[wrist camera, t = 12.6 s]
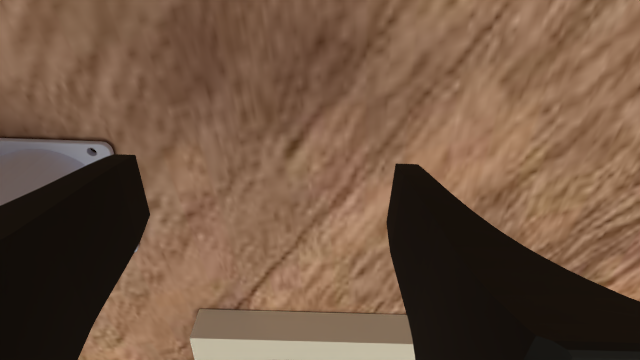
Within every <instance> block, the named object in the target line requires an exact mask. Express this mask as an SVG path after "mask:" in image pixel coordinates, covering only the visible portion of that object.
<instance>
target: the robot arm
mask: <svg viewBox="0 0 640 360" xmlns="http://www.w3.org/2000/svg"><path fill="white" fill-rule="evenodd" d="M90 148H93V149H94V150H96V152H97V153H95V152H93V151H92V150H91V149H90ZM149 216H150V212H149V208H148V204H147V200H146V196H145V192H144V188H143V184H142V180H141V176H140V172H139V168H138V164H137V160H136V156H135V155H118V154H114V152H113V149H112V147H111V146H110V145H109V144H108V143H106V142H102V141H75V140H45V139H15V138H0V360H78V357H79V355H80V353H81V351H82V348H83V346H84V344H85V342H86V339H87V337H88V335H89V332H90V330H91V328H92V326H93V324H94V322H95V320H96V318H97V316H98V315H99V313H100V311H101V309H102V307H103V306H104V304H105V302H106V300H107V299H108V297H109V295H110V294H111V292H112V290H113V288H114V287H115V285H116V283H117V282H118V280H119V278H120V276H121V275H122V273H123V271H124V270H125V268H126V266H127V264H128V263H129V261H130V259H131V257H132V255H133V254H134V253H135V252H136V251H137V250H138V248H139V242H140V240H141V237H142V235H143V232H144V230H145V227H146V224H147V222H148V219H149ZM387 230H388V239H389V246H390V253H391V257H392V261H393V265H394V269H395V272H396V276H397V280H398V284H399V287H400V291H401V295H402V299H403V302H404V306H405V310H406V314H407V317H408V321H409V326H410V330H411V335H412V341H413V347H414V354H415V360H640V302H639V301H637V300H634V299H631V298H629V297H626V296H624V295H622V294H619V293H617V292H615V291H612V290H610V289H608V288H606V287H603V286H601V285H599V284H597V283H594V282H592V281H590V280H588V279H586V278H583V277H581V276H579V275H577V274H575V273H573V272H571V271H569V270H567V269H565V268H563V267H561V266H559V265H557V264H555V263H554V262H552V261H550V260H548V259H546V258H544V257H542V256H540V255H539V254H537V253H535V252H533V251H531V250H530V249H528V248H526V247H525V246H523V245H521V244H520V243H518V242H517V241H515V240H513V239H512V238H510V237H509V236H507V235H506V234H504V233H502V232H501V231H499V230H498V229H496V228H495V227H494V226H492V225H491V224H489V223H488V222H487V221H485V220H484V219H483V218H481V217H480V216H479V215H477V214H476V213H475V212H473V211H472V210H471V209H470V208H468V207H467V206H466V205H464V204H463V203H462V202H461V201H460V200H458V199H457V198H456V197H455V196H454V195H453V194H451V193H450V192H449V191H448V190H447V189H446V188H444V187H443V186H442V185H441V184H440V183H439V182H438V181H437V180H435V179H434V178H433V177H432V176H431V175H430V174H429V173H428V172H426V171H425V170H424V169H423V168H422V167H420V166H419V165H418V164H396V166H395V172H394V178H393V185H392V191H391V197H390V203H389V210H388V216H387Z"/></svg>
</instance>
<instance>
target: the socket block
mask: <svg viewBox="0 0 640 360" xmlns="http://www.w3.org/2000/svg"><path fill="white" fill-rule="evenodd" d="M190 342H191V346H192V351H193V355H194V359H195V360H415V354H414V347H413V341H412V335H411V330H410V326H409V321H408V317H407V315H396V314H360V313H325V312H289V311H253V310H217V309H199V311H198V314H197V317H196V320H195V324H194V327H193V330H192V333H191V336H190Z"/></svg>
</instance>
